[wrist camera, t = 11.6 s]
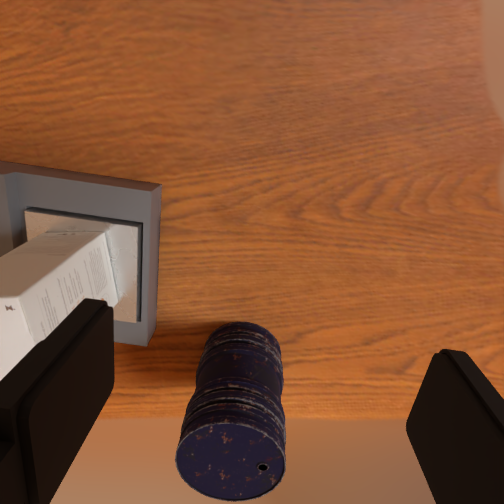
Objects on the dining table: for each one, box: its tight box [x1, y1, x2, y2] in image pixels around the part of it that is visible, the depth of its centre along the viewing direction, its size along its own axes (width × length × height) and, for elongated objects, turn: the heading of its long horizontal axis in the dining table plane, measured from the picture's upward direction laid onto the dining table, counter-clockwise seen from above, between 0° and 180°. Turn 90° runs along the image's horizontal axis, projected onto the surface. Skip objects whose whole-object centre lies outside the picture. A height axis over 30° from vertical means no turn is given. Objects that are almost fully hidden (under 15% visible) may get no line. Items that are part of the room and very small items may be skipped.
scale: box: [0, 161, 162, 347], centre depth 38 cm, size 18×18×5 cm
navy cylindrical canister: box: [175, 322, 286, 502], centre depth 38 cm, size 10×10×15 cm
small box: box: [0, 232, 118, 381], centre depth 31 cm, size 8×6×13 cm
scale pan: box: [24, 207, 143, 323], centre depth 38 cm, size 11×11×3 cm
